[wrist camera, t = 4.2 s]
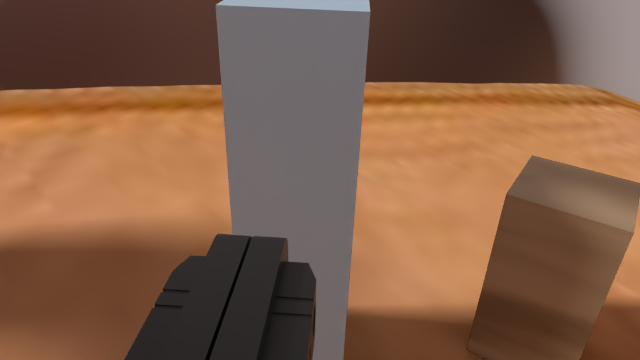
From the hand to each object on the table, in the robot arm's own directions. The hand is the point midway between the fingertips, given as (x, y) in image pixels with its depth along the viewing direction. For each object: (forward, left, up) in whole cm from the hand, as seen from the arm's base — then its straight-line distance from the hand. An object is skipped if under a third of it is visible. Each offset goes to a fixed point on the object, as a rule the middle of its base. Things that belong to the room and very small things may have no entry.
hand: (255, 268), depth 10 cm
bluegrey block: (+7, +7, -14) cm, 17 cm away
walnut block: (+17, -1, -14) cm, 22 cm away
